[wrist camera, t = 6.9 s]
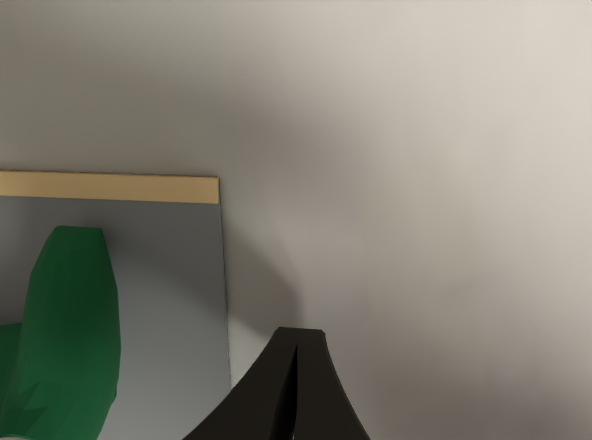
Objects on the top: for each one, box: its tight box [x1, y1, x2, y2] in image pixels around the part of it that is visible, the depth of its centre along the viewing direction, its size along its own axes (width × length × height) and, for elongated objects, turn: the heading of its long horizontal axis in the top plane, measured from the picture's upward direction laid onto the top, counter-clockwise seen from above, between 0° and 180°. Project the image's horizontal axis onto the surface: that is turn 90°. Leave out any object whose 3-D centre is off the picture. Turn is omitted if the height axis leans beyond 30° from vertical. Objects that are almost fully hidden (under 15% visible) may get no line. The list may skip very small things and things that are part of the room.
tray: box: [0, 170, 231, 440], centre depth 11 cm, size 13×12×2 cm
